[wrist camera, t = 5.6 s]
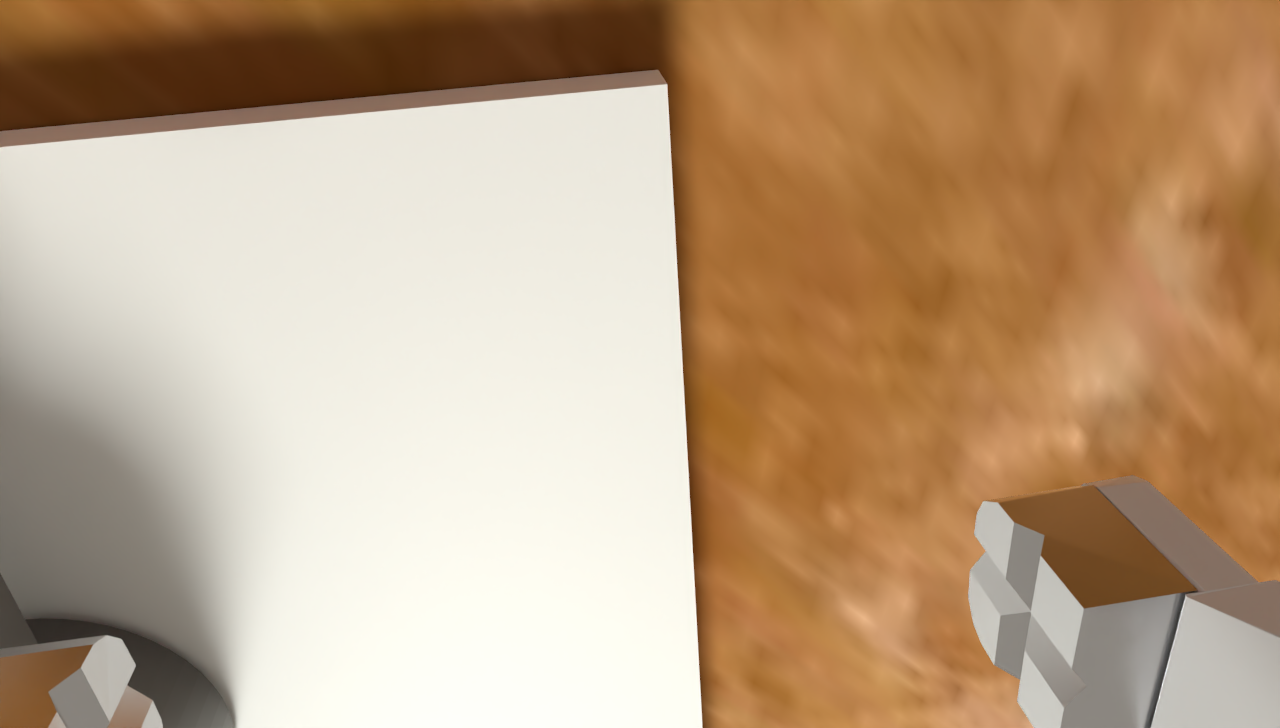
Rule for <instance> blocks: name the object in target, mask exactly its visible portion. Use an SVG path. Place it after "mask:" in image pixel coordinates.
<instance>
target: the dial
mask: <svg viewBox="0 0 1280 728" xmlns="http://www.w3.org/2000/svg"><path fill="white" fill-rule="evenodd" d="M103 635H108V636H112V637H116V638H120V639H122V640H123V642H124V644H125V646H126V648H127V649H128V651H129V653H130V655H131V657H132V659H133V660H134V662H135V664H136V667H135V669H134V671H133V673H132V676H131V678H130V680H129V682H128V684H127V686H129V687H131V688H133V689H134V690H136V691H138V692H140V693H141V694H143V695H145V696H146V697H148V698H150V699H152V700H153V702H154V704H155V706H156V708H157V710H158V713H159V715H160V717H161V719H162V724H163V728H233V722H232V719H231V716H230V712H229V710H228V708H227V706H226V704H225V702H224V700H223V698H222V696H221V695H220V694H219V692H218V691H217V690H216V688H215V687H214V686H213V684H212V683H211V682H210V681H209V680H208V679H207V678H206V677H205V676H204V675H203V674H202V673H201V672H200V671H199V670H198V669H196V668H195V667H194V666H193V665H192V664H190V663H189V662H188V661H187V660H185V659H184V658H182V657H180V656H179V655H177V654H176V653H174V652H173V651H171V650H169V649H168V648H166V647H164V646H162V645H160V644H158V643H156V642H154V641H152V640H149V639H147V638H144V637H142V636H139V635H137V634H134V633H132V632H129V631H125V630H122V629H118V628H115V627H111V626H108V625H102V624H97V623H92V622H87V621H79V620H70V619H46V618H39V619H25V618H24V616H23V615H22V613H21V611H20V609H19V607H18V605H17V603H16V601H15V600H14V598H13V596H12V594H11V592H10V590H9V588H8V586H7V585H6V583H5V581H4V579H3V577H2V575H1V573H0V649H4V648H12V647H19V646H27V645H35V644H42V643H50V642H57V641H65V640H73V639H80V638H88V637H96V636H103Z"/></svg>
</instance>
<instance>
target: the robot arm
mask: <svg viewBox="0 0 1280 728" xmlns="http://www.w3.org/2000/svg"><path fill="white" fill-rule="evenodd" d="M974 535H975V536H976V538H977V539H978V541H979V542H980V543H981V545H982V546H983V548H984V549H985V550H986V552H985V553H984V554H983V555H982V557H981V558H980V559H979V560H978V561H977V563H976V564H975V565H974V566H973V567H972V568H971V570H970V579H969V593H968V598H969V603H970V609H971V614H972V619H973V624H974V627H975V629H976V632H977V634H978V636H979V639H980V641H981V644H982V646H983V647H984V649H985V651H986V652H987V654H988V656H989V657H990V659H991V660H992V662H993V664H994V665H995V666H997V667H999V668H1000V669H1002V670H1004V671H1006V672H1007V673H1009V674H1011V675H1013V676H1014V677H1016V678H1018V679H1020V686H1019V693H1018V699H1017V702H1018V703H1019V705H1020V707H1021V708H1022V710H1023V711H1024V713H1025V714H1026V716H1027V718H1028V719H1029V721H1030V722H1031V724H1032V725H1033V727H1034V728H1280V582H1278V581H1276V580H1273V581H1266V582H1260V583H1259V582H1258V581H1256V580H1255V579H1254V578H1253V577H1252V576H1251V575H1250V574H1249V573H1248V572H1247V571H1245V570H1244V569H1243V568H1242V567H1241V566H1240V565H1239V564H1238V563H1237V562H1236V561H1235V560H1233V559H1232V558H1231V557H1230V556H1229V555H1228V554H1227V553H1226V552H1225V551H1224V550H1223V549H1221V548H1220V547H1219V546H1218V545H1217V544H1216V543H1215V542H1214V541H1213V540H1212V539H1210V538H1209V537H1208V536H1207V535H1206V534H1205V533H1204V532H1203V531H1202V530H1201V529H1200V528H1198V527H1197V526H1196V525H1195V524H1194V523H1193V522H1192V521H1191V520H1190V519H1189V518H1187V517H1186V516H1185V515H1184V514H1183V513H1182V512H1181V511H1180V510H1179V509H1178V508H1177V507H1175V506H1174V505H1173V504H1172V503H1171V502H1170V501H1169V500H1168V499H1167V498H1166V497H1165V496H1163V495H1162V494H1161V493H1160V492H1159V491H1158V490H1157V489H1156V488H1155V487H1154V486H1152V485H1151V484H1150V483H1149V482H1148V481H1146V480H1144V479H1141V478H1139V477H1136V476H1133V475H1131V476H1125V477H1119V478H1114V479H1108V480H1102V481H1096V482H1091V483H1085V484H1083V485H1081V486H1074V487H1068V488H1062V489H1055V490H1049V491H1043V492H1036V493H1030V494H1024V495H1018V496H1011V497H1005V498H999V499H993V500H986V501H983V503H982V505H981V507H980V509H979V511H978V513H977V517H976V525H975V532H974ZM135 667H136V664H135V662H134V660H133V659H132V657H131V655H130V653H129V651H128V649H127V648H126V646H125V644H124V642H123V640H122V639H120V638H116V637H112V636H108V635H103V636H96V637H88V638H80V639H73V640H65V641H57V642H50V643H42V644H35V645H27V646H19V647H12V648H4V649H0V728H163V724H162V719H161V717H160V715H159V713H158V710H157V708H156V706H155V704H154V702H153V700H152V699H150V698H148V697H146V696H145V695H143V694H141V693H140V692H138V691H136V690H134V689H133V688H131V687H129V686H127V684H128V682H129V680H130V678H131V676H132V673H133V671H134V669H135Z"/></svg>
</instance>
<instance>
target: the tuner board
mask: <svg viewBox="0 0 1280 728" xmlns="http://www.w3.org/2000/svg"><path fill="white" fill-rule="evenodd" d="M0 573H1V575H2V577H3V579H4V581H5V583H6V585H7V586H8V588H9V590H10V592H11V594H12V596H13V598H14V600H15V601H16V603H17V605H18V607H19V609H20V611H21V613H22V615H23V616H24V618H25V619H39V618H46V619H70V620H79V621H87V622H92V623H97V624H102V625H108V626H111V627H115V628H118V629H122V630H125V631H129V632H132V633H134V634H137V635H139V636H142V637H144V638H147V639H149V640H152V641H154V642H156V643H158V644H160V645H162V646H164V647H166V648H168V649H169V650H171V651H173V652H174V653H176V654H177V655H179V656H180V657H182V658H184V659H185V660H187V661H188V662H189V663H190V664H192V665H193V666H194V667H195V668H196V669H198V670H199V671H200V672H201V673H202V674H203V675H204V676H205V677H206V678H207V679H208V680H209V681H210V682H211V683H212V684H213V686H214V687H215V688H216V690H217V691H218V692H219V694H220V695H221V696H222V698H223V700H224V702H225V704H226V706H227V708H228V710H229V712H230V716H231V719H232V722H233V728H703V727H702V709H701V690H700V672H699V654H698V636H697V617H696V599H695V581H694V563H693V545H692V526H691V508H690V490H689V472H688V453H687V435H686V417H685V399H684V380H683V362H682V344H681V326H680V307H679V289H678V271H677V253H676V234H675V216H674V198H673V180H672V162H671V143H670V125H669V107H668V89H667V83H666V81H665V80H664V78H663V77H662V75H661V73H660V72H659V70H649V71H638V72H628V73H617V74H606V75H596V76H585V77H574V78H563V79H553V80H542V81H531V82H521V83H510V84H499V85H489V86H478V87H467V88H457V89H446V90H435V91H424V92H414V93H403V94H392V95H382V96H371V97H360V98H350V99H339V100H328V101H318V102H307V103H296V104H286V105H275V106H264V107H253V108H243V109H232V110H221V111H211V112H200V113H189V114H179V115H168V116H157V117H147V118H136V119H125V120H114V121H104V122H93V123H82V124H72V125H61V126H50V127H40V128H29V129H18V130H8V131H0Z"/></svg>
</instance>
